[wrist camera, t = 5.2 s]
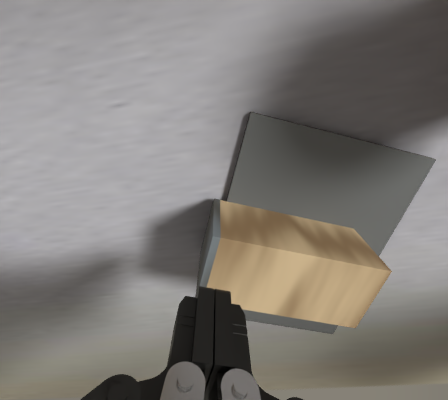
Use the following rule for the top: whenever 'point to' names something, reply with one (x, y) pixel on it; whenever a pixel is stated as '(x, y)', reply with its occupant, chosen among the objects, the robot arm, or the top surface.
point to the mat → (324, 185)
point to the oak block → (289, 265)
